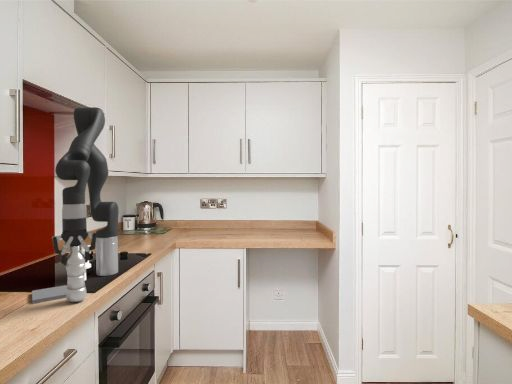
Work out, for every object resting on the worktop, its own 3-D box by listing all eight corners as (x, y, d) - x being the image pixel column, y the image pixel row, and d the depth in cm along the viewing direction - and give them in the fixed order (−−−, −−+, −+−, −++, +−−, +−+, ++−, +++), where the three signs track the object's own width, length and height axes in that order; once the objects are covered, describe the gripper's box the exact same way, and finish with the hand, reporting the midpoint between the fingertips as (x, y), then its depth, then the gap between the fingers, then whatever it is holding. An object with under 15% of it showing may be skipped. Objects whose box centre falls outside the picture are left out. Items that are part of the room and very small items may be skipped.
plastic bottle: (75, 305, 113) (74, 248, 112) (61, 302, 115) (60, 246, 115) (91, 299, 119) (90, 244, 118) (77, 296, 121) (76, 243, 121)
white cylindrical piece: (91, 281, 140) (91, 246, 139) (73, 283, 137) (72, 248, 136) (90, 276, 146) (90, 243, 146) (72, 279, 143) (72, 245, 142)
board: (32, 293, 125) (31, 290, 124) (73, 286, 133) (73, 284, 132) (32, 303, 115) (32, 300, 115) (77, 295, 123) (77, 292, 123)
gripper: (94, 214, 123) (95, 258, 124) (49, 217, 115) (51, 264, 116) (98, 216, 117) (99, 262, 118) (51, 219, 109) (52, 269, 109)
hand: (75, 263), depth 117 cm, fingers closed on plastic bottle, 6 cm apart
